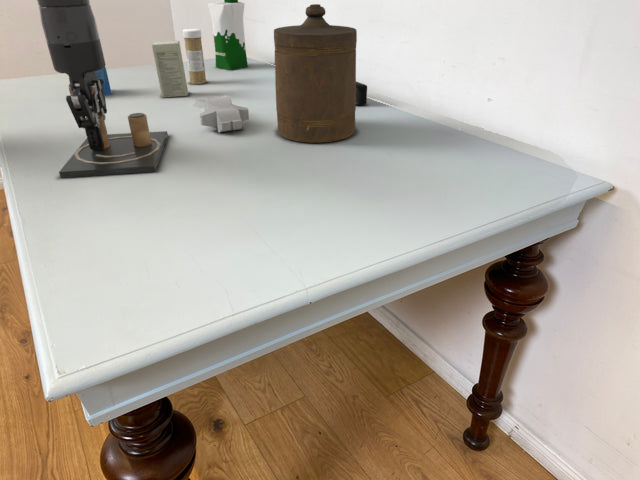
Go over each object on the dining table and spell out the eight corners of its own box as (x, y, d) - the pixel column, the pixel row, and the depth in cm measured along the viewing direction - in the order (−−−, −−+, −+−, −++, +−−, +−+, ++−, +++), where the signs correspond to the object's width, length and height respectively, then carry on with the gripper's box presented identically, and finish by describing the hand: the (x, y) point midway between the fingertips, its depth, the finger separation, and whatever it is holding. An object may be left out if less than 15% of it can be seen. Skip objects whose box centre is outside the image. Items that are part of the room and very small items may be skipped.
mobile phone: (369, 83, 107) (328, 71, 117) (359, 85, 105) (318, 72, 115) (368, 105, 109) (328, 91, 119) (358, 108, 108) (318, 93, 118)
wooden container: (328, 116, 101) (328, 0, 90) (370, 135, 90) (376, 5, 79) (264, 127, 95) (256, 3, 84) (301, 149, 84) (297, 9, 73)
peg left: (89, 150, 81) (81, 119, 78) (93, 144, 84) (86, 114, 81) (107, 148, 81) (100, 118, 79) (111, 143, 84) (104, 114, 81)
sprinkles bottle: (194, 80, 132) (187, 27, 126) (209, 81, 132) (203, 28, 125) (186, 84, 129) (179, 30, 122) (202, 85, 128) (195, 30, 121)
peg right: (132, 147, 82) (125, 117, 79) (135, 141, 85) (129, 112, 82) (150, 146, 82) (144, 116, 80) (152, 140, 85) (147, 111, 82)
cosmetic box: (188, 92, 121) (180, 40, 115) (187, 96, 117) (180, 42, 111) (161, 93, 120) (152, 41, 113) (160, 98, 116) (151, 43, 110)
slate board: (60, 178, 73) (58, 171, 73) (90, 140, 89) (88, 134, 88) (155, 171, 75) (153, 165, 74) (168, 136, 90) (167, 130, 90)
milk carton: (252, 66, 150) (246, -6, 140) (229, 71, 144) (222, -4, 134) (233, 63, 155) (227, -7, 145) (211, 67, 149) (202, -5, 139)
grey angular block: (205, 116, 87) (187, 89, 98) (208, 142, 90) (190, 114, 101) (255, 110, 91) (232, 85, 101) (256, 135, 94) (233, 108, 104)
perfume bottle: (77, 93, 120) (64, 42, 114) (102, 89, 124) (90, 40, 118) (86, 98, 116) (73, 45, 110) (111, 94, 120) (100, 42, 114)
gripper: (61, 32, 79) (87, 134, 88) (30, 45, 67) (65, 161, 76) (108, 31, 80) (130, 132, 89) (87, 43, 68) (114, 158, 77)
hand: (99, 145), depth 82 cm, fingers closed on peg left, 3 cm apart
